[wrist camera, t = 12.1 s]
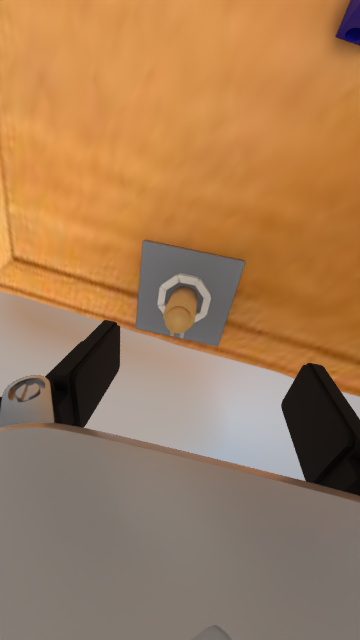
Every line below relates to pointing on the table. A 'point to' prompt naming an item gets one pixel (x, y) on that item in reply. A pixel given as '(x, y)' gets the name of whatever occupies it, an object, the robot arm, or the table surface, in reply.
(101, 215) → the table surface
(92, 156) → the table surface
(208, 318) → the plate
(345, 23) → the cable clip
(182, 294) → the tan wooden peg
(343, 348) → the table surface
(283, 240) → the table surface
